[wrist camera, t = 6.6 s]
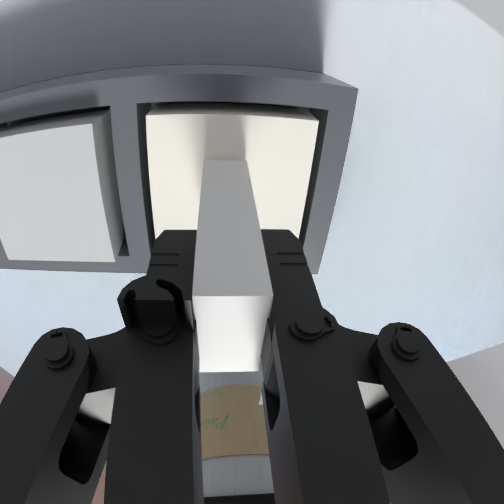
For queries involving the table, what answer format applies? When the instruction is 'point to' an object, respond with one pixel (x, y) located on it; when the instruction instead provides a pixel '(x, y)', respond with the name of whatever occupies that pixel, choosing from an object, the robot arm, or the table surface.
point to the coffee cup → (234, 439)
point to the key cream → (229, 158)
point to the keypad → (188, 91)
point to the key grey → (60, 190)
